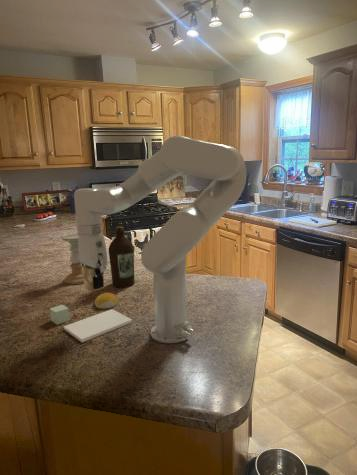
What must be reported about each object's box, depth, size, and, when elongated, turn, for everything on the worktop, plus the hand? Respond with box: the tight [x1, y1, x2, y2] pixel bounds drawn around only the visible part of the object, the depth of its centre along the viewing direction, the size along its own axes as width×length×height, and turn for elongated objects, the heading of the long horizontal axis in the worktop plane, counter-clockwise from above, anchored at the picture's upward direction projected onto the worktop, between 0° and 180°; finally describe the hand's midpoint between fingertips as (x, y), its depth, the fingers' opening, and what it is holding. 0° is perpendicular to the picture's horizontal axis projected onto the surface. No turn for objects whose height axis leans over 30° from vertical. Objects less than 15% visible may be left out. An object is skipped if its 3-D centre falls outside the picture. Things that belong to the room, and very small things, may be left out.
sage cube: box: [49, 304, 71, 326], centre depth 118 cm, size 4×4×4 cm
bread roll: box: [94, 292, 118, 309], centre depth 131 cm, size 8×9×4 cm
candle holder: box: [61, 233, 84, 285], centre depth 156 cm, size 12×12×20 cm
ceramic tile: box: [63, 308, 133, 343], centre depth 113 cm, size 12×18×1 cm, turn 133°
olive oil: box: [108, 226, 135, 288], centre depth 149 cm, size 11×11×25 cm
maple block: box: [82, 264, 105, 292], centre depth 110 cm, size 4×4×7 cm
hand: (94, 285), depth 111 cm, fingers closed on maple block, 4 cm apart
